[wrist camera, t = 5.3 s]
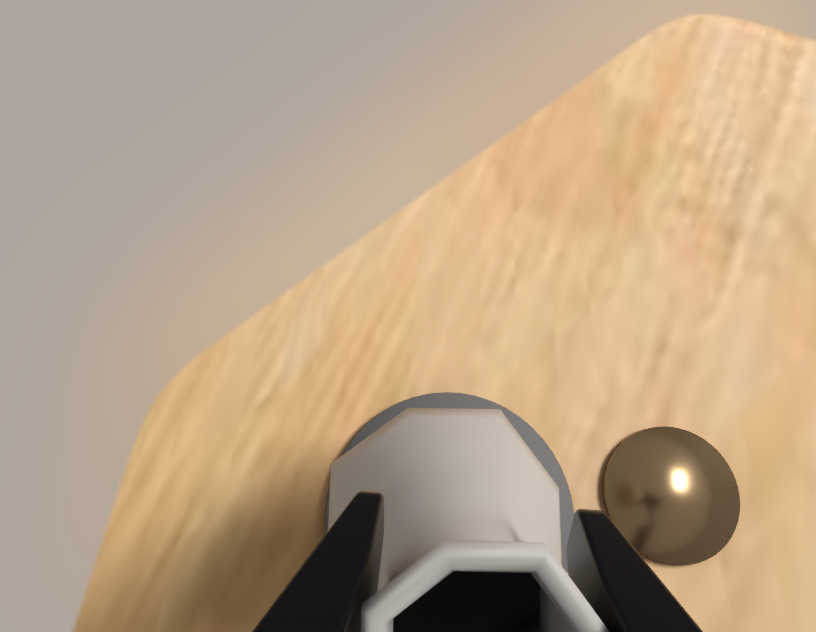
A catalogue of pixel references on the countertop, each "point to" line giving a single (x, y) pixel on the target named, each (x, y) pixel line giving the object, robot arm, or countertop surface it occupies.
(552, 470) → the rubber mat
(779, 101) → the countertop surface
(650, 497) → the bronze token
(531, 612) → the flask
